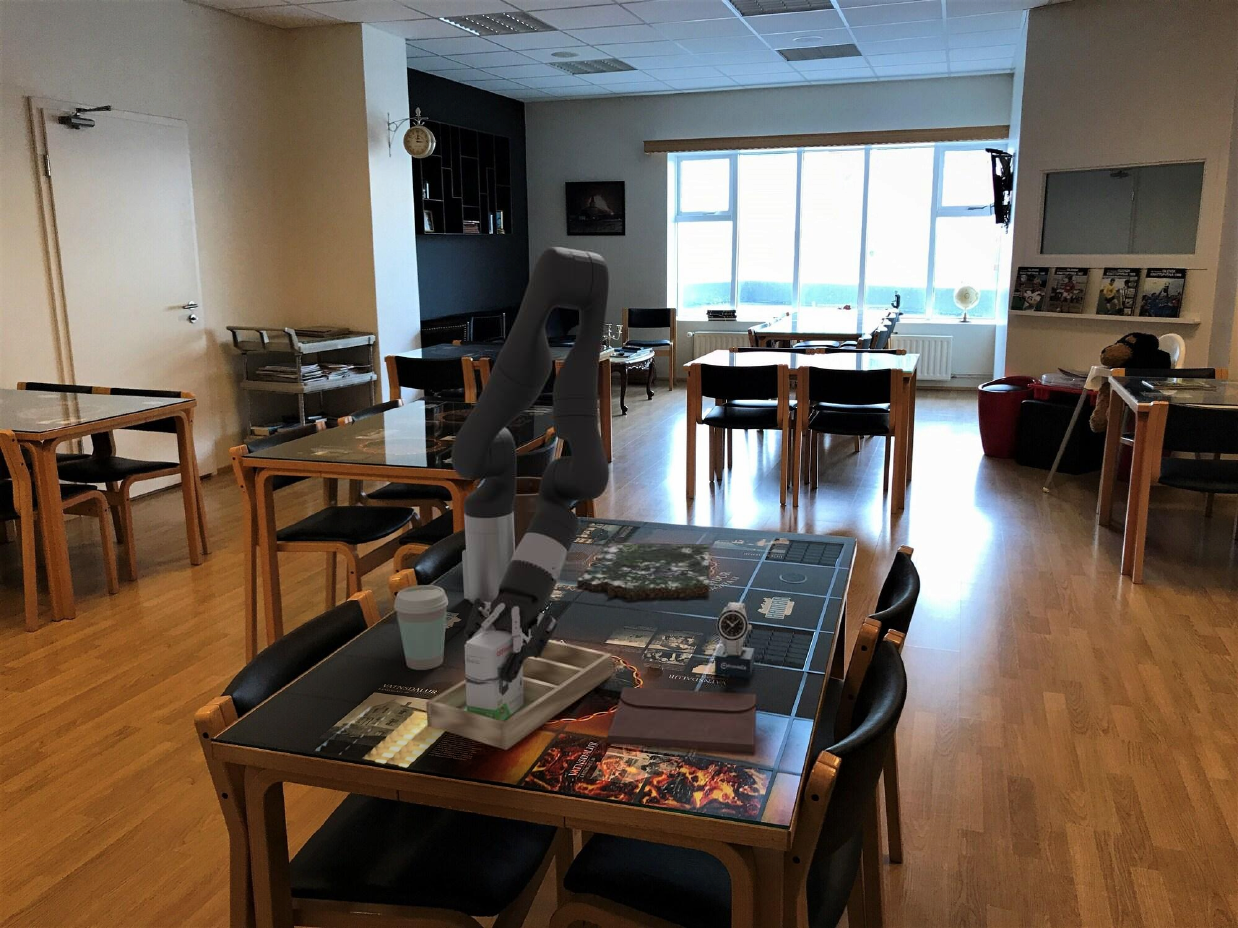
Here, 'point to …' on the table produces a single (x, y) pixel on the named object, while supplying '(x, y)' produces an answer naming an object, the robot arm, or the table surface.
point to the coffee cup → (422, 625)
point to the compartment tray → (526, 695)
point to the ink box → (491, 676)
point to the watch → (733, 643)
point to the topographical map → (650, 571)
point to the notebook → (685, 720)
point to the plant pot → (524, 505)
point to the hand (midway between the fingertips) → (487, 674)
